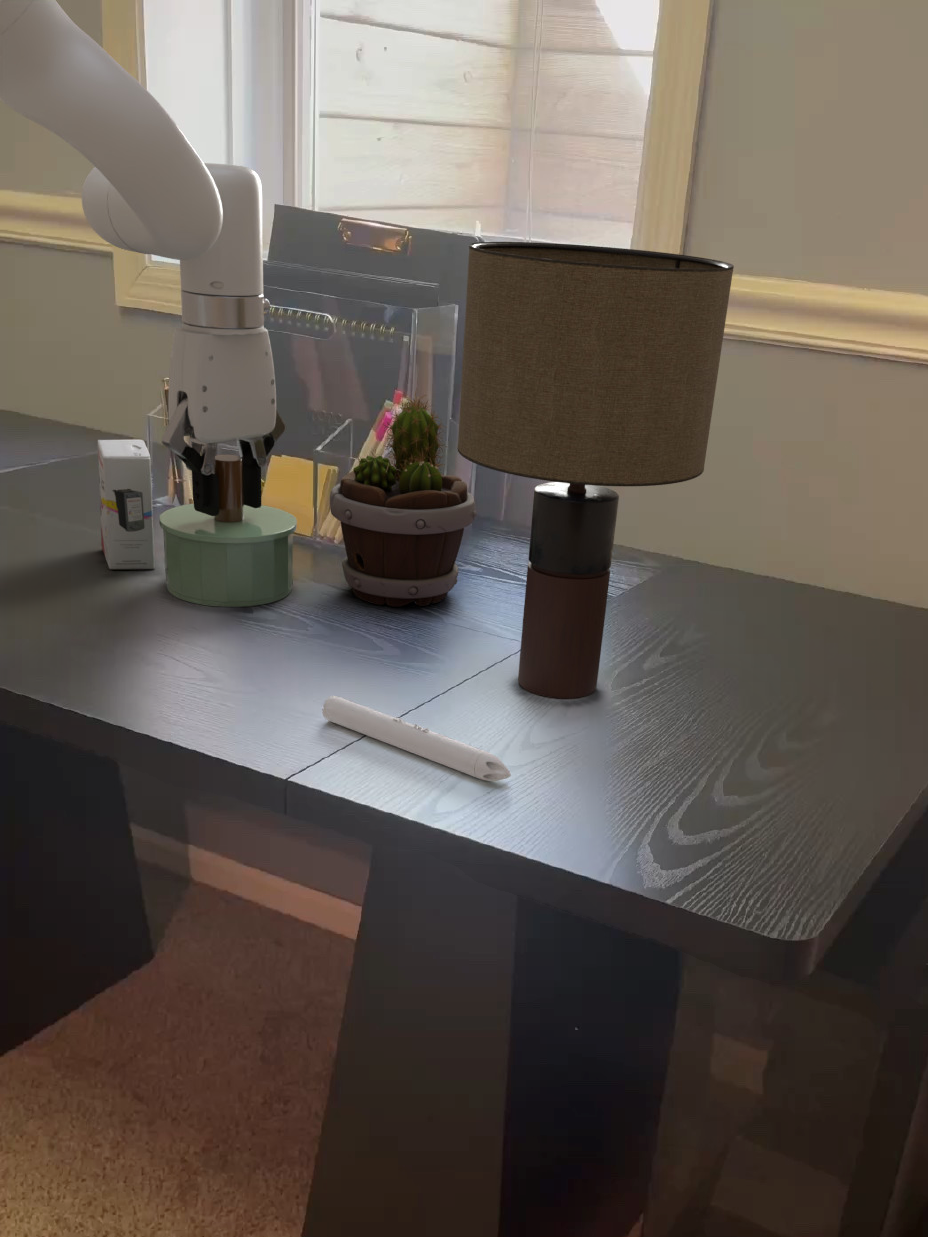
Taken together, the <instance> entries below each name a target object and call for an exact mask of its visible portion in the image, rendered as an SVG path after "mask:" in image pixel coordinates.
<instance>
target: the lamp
mask: <svg viewBox="0 0 928 1237" xmlns="http://www.w3.org/2000/svg"><path fill="white" fill-rule="evenodd" d="M467 262H468V263H467V264H468V265H467V280H466V282H467V283H466V295H465V296H466V298H465V314H464V315H465V316H464V334H463V351H462V369H461V382H460V383H461V384H460V399H459V400H460V402H459V418H458V419H459V420H458V437H457V452H458V453H459V454H460V456H461V457H463V458H464V459H466V460H467V461H469V462H471V463H473V464H475V465H478V466H480V467H482V468H483V467H484V468H486V469H489V470H493V471H497V472H500V473H504V474H508V475H513V476H517V477H522V478H528V479H533V480H540V481H547V482H544V483H541V484H538V485H536V486H535V487H534V489H533V500H532V502H533V503H532V513H531V524H530V535H529V536H530V537H529V549H528V562H527V568H526V569H527V570H526V580H525V593H524V604H523V616H522V626H521V627H522V628H521V640H520V650H519V663H518V676H517V680H518V684H519V685H520V686H521V688H523V689H524V690H526V691H528V692H530V693H532V694H535V695H538V696H543V697H546V698H553V699H577V698H582V697H586V696H588V695H591V694H592V693H594V692H595V691H596V689H597V685H598V680H599V672H600V671H599V670H600V661H601V652H602V645H603V636H604V628H605V627H604V626H605V621H606V620H605V619H606V613H607V612H606V611H607V602H608V594H609V588H610V587H609V586H610V579H611V578H610V577H611V567H612V560H613V550H614V542H615V533H616V525H617V518H618V517H617V516H618V508H619V500H620V495H619V493H618V492H616V491H615V490H613V489H610V488H607V487H650V486H651V487H652V486H665V485H672V484H679V483H683V482H687V481H690V480H694V479H696V478H698V477H700V476H701V475H703V473H704V471H705V463H706V456H707V450H708V443H709V436H710V435H709V434H710V429H711V423H712V417H713V411H714V410H713V409H714V404H715V403H714V402H715V396H716V389H717V382H718V375H719V368H720V363H721V362H720V361H721V354H722V349H723V341H724V335H725V328H726V321H727V314H728V307H729V301H730V295H731V294H730V293H731V286H732V279H733V273H734V268H735V266H734V264H732V263H729V262H726V261H723V260H717V259H711V258H707V257H701V256H700V257H699V256H692V255H685V254H679V253H669V252H662V251H653V250H652V251H651V250H642V249H633V248H621V247H613V246H611V247H610V246H597V245H584V244H570V243H554V242H553V243H552V242H529V241H481V242H480V241H479V242H474V243H469V245H468V261H467Z"/></svg>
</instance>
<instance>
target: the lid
mask: <svg viewBox="0 0 928 1237" xmlns="http://www.w3.org/2000/svg"><path fill="white" fill-rule="evenodd" d="M212 473H213V474H216V475H217V476H218V482H219V514H218V515H217V516H210V515H207V514H204V513H201V512H198V511H196V510H195V509H194V503H188V504H183V505H178V506H174V507H172V508H168V509H167V510H164V511H163V512H162V513H161V514H160V515H159V518H158V521H159V522H158V523H159V527H160V528H161V529H162V530H164V531H166V532H168V533H170V534H173V535H175V536H179V537H182V538H186V539H191V540H197V541H203V542H213V543H254V542H264V541H270V540H275V539H279V538H283V537H286V536H288V535H290V534H292V533H293V534H294V533H295V532H296V531H297V529H298V519H297V518H296V516H295V515H293V514H292V513H290V512H287V511H286V510H283V509H280V508H277V507H273V506H268V505H265V504H261V507H260V508H253V507H250V506H247V505H244V494H243V458H242V457H240V455H236V454H216V455H215V461H214V467H213V472H212Z"/></svg>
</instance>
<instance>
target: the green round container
mask: <svg viewBox="0 0 928 1237" xmlns="http://www.w3.org/2000/svg"><path fill="white" fill-rule="evenodd" d="M162 530H163V529H162ZM293 534H294V533H292V534H290V535H288V536H286V537H283V538H279V539H275V540H270V541H264V542H254V543H213V542H203V541H197V540H191V539H186V538H182V537H179V536H175V535H173V534H170V533H168V532H166V531H164V530H163V550H164V551H163V552H164V569H165V571H164V572H165V582H166V587H167V588H166V589H167V591H168V592H169V593H170V594H171V595H172V596H173V597H175V598H177V599H180V600H182V601H185V602H188V603H191V604H192V603H193V604H196V605H202V606H209V607H219V608H220V607H221V608H243V607H255V606H261V605H266V604H271V603H275V602H278V601H280V600H283V599H284V598H287V596H289V595H290V594H291V592H292V588H293V584H294V577H293V576H294V568H293V567H294V562H293V561H294V557H293V556H294V554H293V553H294V549H293V548H294V547H293V546H294V542H293V541H294V535H293Z"/></svg>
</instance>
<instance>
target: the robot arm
mask: <svg viewBox="0 0 928 1237" xmlns="http://www.w3.org/2000/svg"><path fill="white" fill-rule="evenodd" d="M0 101H1V102H2V103H3V104H4V105H5V106H7V107H9V108H10V109H12V110H13V111H15V113H17V114H19V115H21V116H23V117H25V118H26V119H28V120H30V121H32V122H34V123H36V124H38V125H39V126H40V127H41V126H42V127H43V128H44V129H46V130H48V131H50V132H51V133H53V134H55V135H56V136H58V137H59V138H61V140H63V141H65V142H66V143H67V144H69V145H70V146H71V147H72V148H73V149H75V150H76V151H77V152H78V153H79V154H81V155H82V156H83V157H84V158H85V159H86V160H88V162H89V163H91V164H92V165H93V166H94V167H92V169H91V170H90V171H89V173H88V175H87V176H86V177H85V180H84V182H83V185H82V189H81V206H82V211H83V213H84V216H85V219H86V221H87V223H88V224H89V226H90V228H92V230H93V231H94V232H95V234H96V235H97V236H99V237H100V238H101V239H102V240H104V241H105V242H107V243H108V244H109V245H112V246H113V247H116V248H118V249H121V250H125V251H128V252H134V253H138V254H143V255H152V256H157V257H161V258H166V259H171V260H175V261H179V271H180V274H179V276H180V299H181V300H180V301H181V321H182V322H181V324H182V325H181V327H175V329H174V333H173V337H172V343H171V349H170V351H171V352H170V359H169V371H168V399H167V401H168V403H167V404H168V407H167V408H168V425H167V427H166V428H165V430H164V433H163V434H162V436H161V444H163V446H164V447H166V448H167V449H169V450H170V451H171V452H173V453H174V454H176V456H177V457H178V458H179V459H180V460H181V462H183V463H184V464H185V468H186V469H187V470H188V471H190V472H191V483H192V484H191V486H192V487H191V488H192V500H193V501H192V502H193V504H194V509H195V510H196V511H198V512H201V513H204V514H207V515H210V516H217V515H218V514H219V482H218V476H217V475H216V474H213V473H212V472H213V467H214V461H215V456H216V455H217V448H218V443H223V442H232V441H236V446H237V451H238V456H240V457H242V458H243V494H244V505H247V506H250V507H253V508H260V507H261V505H262V468H264V467H265V466H266V465H267V462H268V458H267V457H268V456H269V454H270V453H271V451H272V449H273V448H274V446H275V442H277V441H278V440H279V439H280V438H281V437H282V436H283V435H284V434H285V432H286V431H287V425H286V423H285V421H284V420H283V418H282V416H281V415H280V413H279V411H278V410H277V388H276V386H277V385H276V375H275V365H274V357H273V351H272V345H271V340H270V336H269V330H268V329H266V328H264V326H265V318H264V317H265V316H264V315H265V314H268V313H269V312H270V310H271V304H270V301H269V299H267V298H266V297H264V240H263V239H264V237H263V236H264V235H263V233H264V232H263V229H264V228H263V187H262V186H263V185H262V181H261V179H260V176H259V174H258V173H257V172H256V171H255V170H254V169H252V168H249V167H246V166H243V165H236V164H235V165H234V164H225V163H210V162H204V161H203V160H202V158H201V157H200V156H199V154H198V152H197V151H196V150H195V148H194V147H193V146H192V144H191V143H190V141H189V140H188V138H187V137H186V136H185V134H184V133H183V132H182V130H181V129H180V127H179V126H178V124H177V123H176V122H175V120H174V119H173V118H172V117H171V116H170V114H169V113H168V111H167V110H166V109H165V108H164V107H163V105H162V104H161V103H160V102H159V101H158V100H157V99H156V98H155V97H154V95H152V94H151V93H150V92H149V90H147V89H146V88H145V87H144V85H143V84H141V83H140V82H139V81H138V79H136V77H134V76H133V75H132V74H131V73H130V72H129V71H127V70H126V69H125V68H124V67H123V66H122V65H121V64H120V63H118V61H116V59H114V57H112V55H111V54H109V53H108V52H107V51H106V50H105V49H104V47H102V46H101V45H100V44H98V42H96V40H95V39H93V38H92V37H91V36H90V35H88V33H86V32H85V31H84V30H83V29H81V28H80V27H79V26H78V25H77V24H76V23H75V22H74V21H73V20H72V18H70V17H69V15H68V14H67V13H66V12H65V10H64V9H63V8H62V7H61V5H60V4H59V3H58V1H57V0H0ZM185 437H189V440H188V443H187V442H186V441H185Z"/></svg>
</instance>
